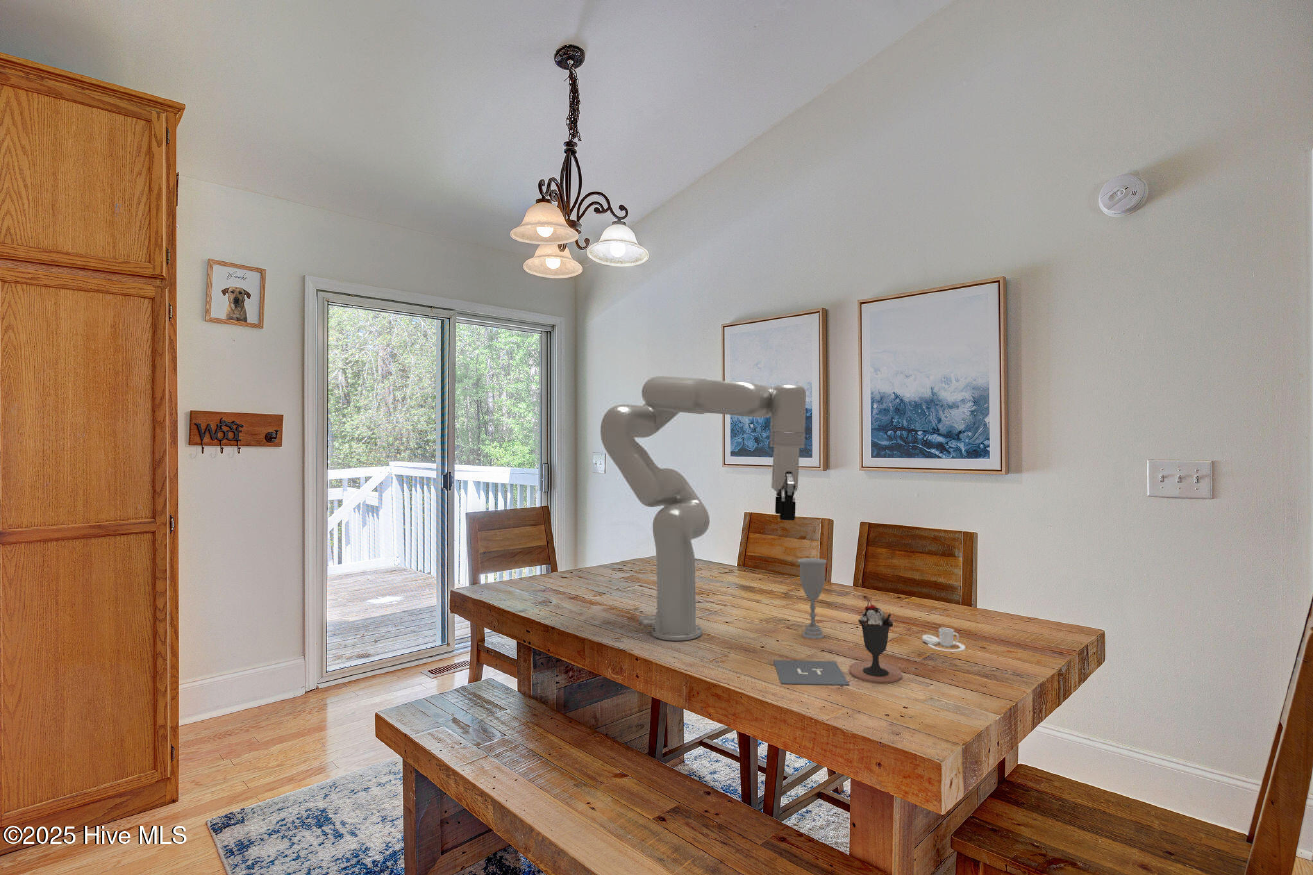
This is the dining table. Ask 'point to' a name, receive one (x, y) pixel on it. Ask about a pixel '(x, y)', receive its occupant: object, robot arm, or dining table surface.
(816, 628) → the chalice
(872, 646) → the sundae
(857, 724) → the dining table surface
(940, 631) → the teacup and saucer
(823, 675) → the card
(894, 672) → the coaster
